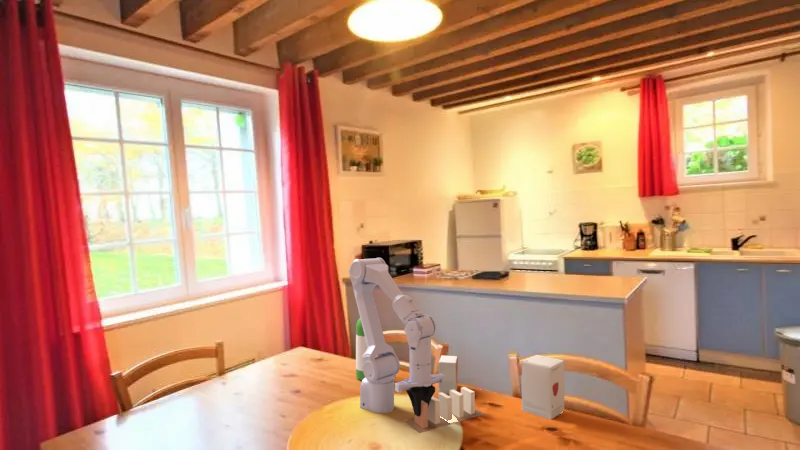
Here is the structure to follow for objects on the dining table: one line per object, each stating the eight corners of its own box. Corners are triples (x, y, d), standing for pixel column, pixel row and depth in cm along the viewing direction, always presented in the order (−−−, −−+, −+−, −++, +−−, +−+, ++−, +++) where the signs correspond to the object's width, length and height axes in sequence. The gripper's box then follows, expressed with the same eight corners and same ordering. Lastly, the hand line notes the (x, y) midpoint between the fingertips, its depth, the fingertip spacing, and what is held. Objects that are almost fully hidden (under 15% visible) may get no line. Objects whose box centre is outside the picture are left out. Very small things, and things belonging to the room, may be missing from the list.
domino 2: (435, 424, 116) (435, 401, 116) (426, 418, 119) (425, 396, 120) (439, 423, 116) (439, 400, 116) (430, 417, 120) (430, 395, 120)
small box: (456, 397, 137) (456, 363, 137) (438, 395, 138) (438, 362, 138) (458, 387, 144) (457, 355, 145) (441, 386, 146) (441, 354, 146)
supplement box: (551, 422, 118) (551, 367, 118) (521, 413, 125) (520, 360, 125) (565, 412, 125) (565, 359, 125) (536, 403, 131) (535, 353, 131)
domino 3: (447, 420, 118) (447, 398, 118) (438, 414, 122) (438, 393, 122) (451, 419, 118) (451, 397, 118) (442, 413, 122) (442, 392, 122)
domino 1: (423, 428, 113) (423, 405, 113) (414, 421, 117) (414, 399, 117) (427, 427, 114) (427, 403, 114) (418, 420, 118) (418, 398, 118)
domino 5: (470, 414, 122) (470, 392, 122) (460, 408, 126) (460, 387, 126) (474, 413, 123) (474, 391, 123) (464, 407, 126) (464, 386, 126)
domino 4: (459, 417, 120) (459, 395, 120) (449, 411, 124) (449, 390, 124) (463, 416, 120) (463, 394, 121) (453, 410, 124) (453, 389, 124)
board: (419, 435, 111) (419, 432, 111) (402, 423, 118) (402, 420, 118) (485, 416, 122) (485, 413, 122) (466, 406, 129) (466, 404, 129)
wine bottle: (353, 376, 156) (352, 291, 156) (373, 373, 159) (373, 290, 160) (360, 383, 149) (360, 294, 149) (381, 379, 152) (381, 293, 152)
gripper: (404, 371, 109) (404, 426, 109) (451, 362, 116) (451, 413, 116) (390, 363, 115) (390, 415, 115) (436, 355, 122) (436, 404, 122)
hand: (420, 414), depth 116 cm, fingers closed on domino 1, 1 cm apart
